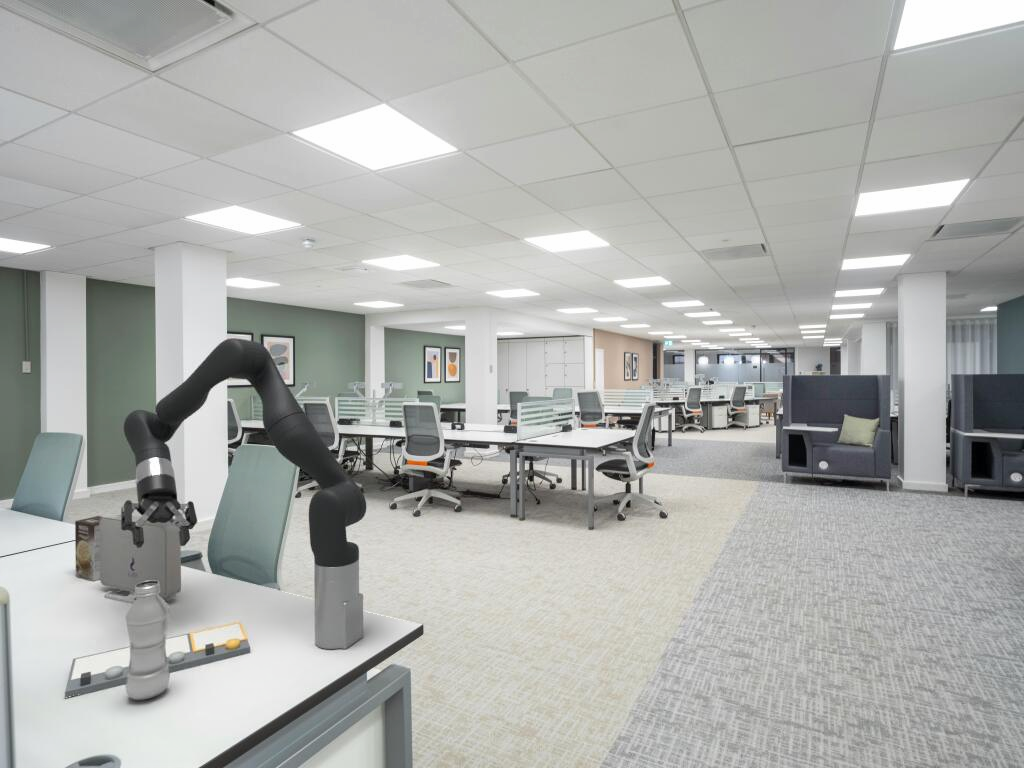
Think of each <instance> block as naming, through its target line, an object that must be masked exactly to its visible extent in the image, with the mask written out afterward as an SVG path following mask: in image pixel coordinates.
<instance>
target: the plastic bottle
mask: <svg viewBox="0 0 1024 768" xmlns="http://www.w3.org/2000/svg"><path fill="white" fill-rule="evenodd" d="M159 593H160V583H159V581H156V580H151V581H144V582H141V583H138V584H136V585H135V597H136V600H135V602H134V603H133V604H131V605H130V607H129V609H128V610H127V613H126V616H125V621H126V627H127V628H126V629H127V635H128V642H129V646H130V661H129V672H128V675H127V679H126V684H125V690H126V694H127V696H128V697H129V698H130V699H131V700H133V701H144V700H149V699H151V698H155V697H157V696H159V695H162V693H163V692H165V691H166V689H167V687H168V686H169V684H170V677H171V674H170V673H169V667H168V664H167V657H166V638H167V630H168V623H169V617H170V607H169V603H167V601H166V602H165V601H164V599H162V598H161V597H160V596H159Z"/></svg>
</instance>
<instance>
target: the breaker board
mask: <svg viewBox="0 0 1024 768" xmlns="http://www.w3.org/2000/svg"><path fill="white" fill-rule="evenodd" d="M250 653H251V646H250V643H249V641H248V637H247V634H246V631H245V629H244V627H243V624H242V622H241V621H236V622H231V623H228V624H227V623H226V624H222V625H219V626H215V627H209V628H205V629H201V630H195V631H192V632H191V631H190V632H188V633H184V634H179V635H176V636H171V637H170V636H169V637H166V657H167V664H168V667H169V673H170V672H171V673H174V672H173V671H175V672H178V671H177V670H179V671H181V669H183V670H185V669H184V668H187V669H189V667H191V668H193V667H192V666H195V667H197V666H196V665H199V666H201V665H200V664H203V665H206V664H205V663H207V664H209V663H208V662H211V663H213V661H215V662H219V661H222V659H223V660H227V659H230V658H234V657H238V656H243V655H246V654H250ZM218 660H219V661H218ZM129 661H130V645H129V646H126V647H120V648H115V649H112V650H111V649H110V650H107V651H103V652H98V653H94V654H89V655H86V656H85V655H84V656H80V657H76V658H72V662H71V666H70V670H69V675H68V678H67V683H66V687H65V691H64V698H65V697H69V696H73V695H78V694H82V695H85V694H84V693H86V694H89V693H88V692H90V693H93V692H92V691H94V692H98V691H102V690H106V689H109V688H113V687H118V686H122V685H126V679H127V675H128V672H129ZM78 696H79V695H78Z"/></svg>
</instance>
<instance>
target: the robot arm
mask: <svg viewBox="0 0 1024 768" xmlns="http://www.w3.org/2000/svg"><path fill="white" fill-rule="evenodd" d="M228 379H236V380H247V381H248V383H250V384H251V386H253V388H254V390H255V391H256V394H257V395H258V396H259V398H260V400H261V405H262V406H261V407H262V424H263V428H264V431H265V432H266V434H267V436H268V438H269V440H270V441H271V442H272V444H273V446H274V447H275V448H276V450H277V452H278V453H279V454H281V456H282V457H284V458H285V459H286V460H288V461H289V462H290V463H291V464H293V465H295V466H296V467H298V468H299V469H300V470H302V471H304V472H305V473H306V474H307V475H309V476H310V477H311V478H313V480H314V481H315V482H316V484H317V485H318V486H319V488H320V490H318V491H316V492H315V493H314V494H313V495H312V497H311V498H310V502H309V504H308V505H309V507H308V529H309V544H310V549H311V552H312V553H313V554H312V555H313V559H314V569H313V570H314V577H313V578H314V644H315V646H317V647H318V648H321V649H325V650H326V649H327V650H337V649H344V650H345V649H348V648H349V647H350V646H352V645H353V644H355V643H356V642H358V641H359V640H361V639H362V638H363V637H364V594H363V593H360V548H359V545H358V544H357V543H355V542H351V541H348V540H347V539H348V538H347V527H350V526H352V525H354V524H357V523H358V522H360V521H361V520H362V519H363V518H364V517H365V515H366V513H367V501H366V498H365V495H364V493H363V491H362V490H361V488H360V487H359V485H357V483H356V481H355V480H354V479H353V478H352V477H351V476H350V474H349V473H348V472H347V470H345V469H344V467H343V466H342V465H341V464H340V463H339V461H338V460H337V458H336V457H335V456H334V454H333V453H332V451H331V450H330V448H329V447H328V445H327V444H326V443H325V441H324V440H323V439H322V436H320V434H319V432H318V431H317V429H316V427H315V426H314V424H313V423H312V421H311V419H310V418H309V416H308V415H307V414H306V412H305V411H304V409H303V408H302V407H301V405H300V404H299V402H298V401H297V399H296V397H295V395H294V394H293V393H292V390H290V388H289V386H288V385H287V383H286V382H285V380H284V379H283V376H282V375H281V373H280V371H279V368H278V367H277V365H276V363H275V360H274V359H273V357H272V355H271V353H270V351H269V350H268V348H266V346H264V345H263V344H262V343H260V342H258V341H254V340H250V339H249V340H247V339H243V338H226V339H225V340H223V341H221V342H220V343H218V345H217V346H216V347H215V348H214V349H213V350H212V351H211V352H210V353H209V354H208V355H207V357H206V358H205V359H204V360H203V361H202V362H201V363H200V364H199V365H198V366H197V368H196V369H195V370H194V371H193V372H192V373H191V374H190V375H189V376H188V378H186V379H185V380H184V381H183V382H182V383H181V384H180V385H179V386H177V387H176V388H175V389H173V390H172V391H170V392H169V393H168V394H166V395H165V396H164V397H163V398H161V399H160V400H159V401H158V402H157V403H156V404H155V412H151V411H149V410H144V409H136V410H132V411H131V412H130V413H129V414H128V415H127V416H126V417H125V419H124V422H123V433H124V436H125V439H126V440H127V441H126V442H127V443H128V444H129V447H130V449H131V451H132V453H133V455H134V459H135V469H136V471H135V485H136V486H135V487H136V495H137V503H135V502H132V501H131V500H129V499H127V500H126V501H125V502H124V503H123V506H122V507H121V510H120V514H121V529H122V530H124V531H125V530H130V531H131V532H132V536H133V544H134V545H136V547H137V548H141V547H142V545H143V544H144V534H143V527H142V526H143V525H144V524H145V523H146V522H147V521H149V522H151V523H156V522H161V523H166V522H168V523H169V524H171V525H172V526H175V527H176V528H177V529H178V530H179V538H180V545H181V547H185V546H186V545H187V544H188V543H189V541H190V539H191V536H190V535H191V534H190V530H193V528H194V527H195V526H196V525H197V524H198V518H197V513H196V508H195V505H194V502H193V501H190V500H189V501H187V503H180V502H179V501H178V493H177V492H178V491H177V486H176V484H177V483H176V478H175V472H174V471H175V470H174V468H173V467H174V466H173V465H172V463H173V462H172V455H171V451H170V447H169V446H168V444H167V442H168V441H170V440H171V439H172V438H173V436H174V435H175V434H176V431H177V430H178V429H179V428H180V427H181V425H182V424H183V422H184V421H185V420H187V419H188V418H190V417H191V416H192V415H194V414H195V413H196V412H198V411H199V410H201V408H202V407H203V406H204V405H205V403H206V402H207V399H208V396H209V393H210V392H211V390H212V389H213V388H214V387H215V386H217V385H218V384H220V383H222V382H224V381H226V380H228ZM135 510H136V511H137V513H139V514H140V515H141V516H140V517H141V518H140V519H139V520H138V521H137V522H132V516H133V513H134V511H135ZM174 517H175V518H174Z"/></svg>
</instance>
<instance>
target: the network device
mask: <svg viewBox="0 0 1024 768" xmlns="http://www.w3.org/2000/svg"><path fill="white" fill-rule="evenodd" d="M101 517H102V518H101V519H100V521H99V530H100V581H99V582H100V584H101V585H102V586H104V587H108V588H113V589H111V590H109V591H106V592H105V593H104V598H105V599H108V600H112V601H117V602H122V603H125V604H129V603H130V605H132V604H133V603H134V602H135V600H136V597H135V585H136V584H138V583H141V582H144V581H151V580H156V581H159V583H160V593H159V596H160V597H161V598H162V599H164V601H166V602H168V601H170V599H171V600H173V599H174V597H175V598H176V597H177V596H176V595H178V593H180V592H181V591H182V590H181V589H182V561H181V560H182V554H181V553H182V552H181V551H182V549H181V548H182V546H181V545H180V538H179V530H178V529H177V528H176V527H175V526H172V525H171V524H169V523H168V522H166V523H161V522H156V523H151V522H149V521H147V522H146V523H145V524H144V525H143V526H142V527H143V534H144V544H143V545H142V547H141V548H137V547H136V545H134V544H133V536H132V532H131V531H130V530H125V531H124V530H122V529H121V513H115V514H110V515H106V516H101ZM141 517H142V516H135V515H132V522H137V521H138V520H139V519H140V518H141ZM121 590H123V591H126V592H129V594H128V595H127V596H118V595H114V594H116V592H117V593H119V592H118V591H120V592H122V591H121ZM113 593H114V594H113ZM110 594H111V595H110Z"/></svg>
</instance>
